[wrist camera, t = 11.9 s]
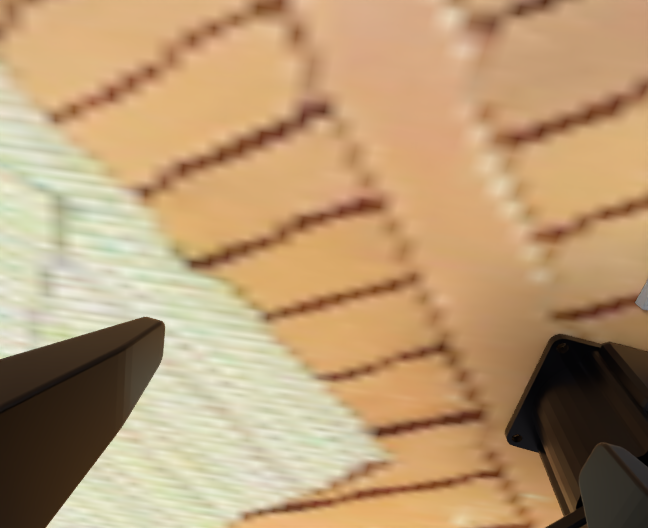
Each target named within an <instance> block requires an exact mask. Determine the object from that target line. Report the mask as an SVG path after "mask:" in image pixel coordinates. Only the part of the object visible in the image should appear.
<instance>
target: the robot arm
mask: <svg viewBox="0 0 648 528" xmlns="http://www.w3.org/2000/svg"><path fill="white" fill-rule="evenodd" d="M164 336H165V324H164V323H163V321H160V320H156V319H153V318H149V317H142V318H139V319H135V320H132V321H128V322H125V323H122V324H118V325H115V326H112V327H108V328H105V329H101V330H98V331H95V332H91V333H88V334H84V335H81V336H78V337H74V338H71V339H67V340H64V341H61V342H57V343H54V344H50V345H47V346H44V347H40V348H37V349H33V350H30V351H27V352H23V353H20V354H16V355H13V356H10V357H6V358H3V359H0V528H46V527H47V525H48V524H49V523H50V521H51V520H52V519H53V517H54V516H55V515H56V513H57V512H58V511H59V509H60V508H61V507H62V506H63V504H64V503H65V502H66V500H67V499H68V498H69V496H70V495H71V494H72V492H73V491H74V490H75V488H76V487H77V486H78V484H79V483H80V482H81V481H82V479H83V478H84V477H85V475H86V474H87V473H88V471H89V470H90V469H91V467H92V466H93V465H94V463H95V462H96V461H97V460H98V458H99V457H100V456H101V454H102V453H103V452H104V450H105V449H106V448H107V446H108V445H109V444H110V442H111V441H112V440H113V438H114V437H115V436H116V434H117V433H118V432H119V430H120V429H121V428H122V426H123V425H124V423H125V421H126V420H127V418H128V417H129V415H130V413H131V412H132V410H133V408H134V407H135V405H136V403H137V402H138V400H139V398H140V397H141V395H142V393H143V392H144V390H145V388H146V387H147V385H148V383H149V382H150V380H151V378H152V377H153V375H154V373H155V372H156V370H157V368H158V367H159V365H160V363H161V360H162V357H163V348H164ZM561 343H565V346H564V347H562V348H557V346H558V345H559V344H561ZM516 434H519V436H516V437H513V435H516ZM505 435H506V439H507V442H508V443H509V444H511V445H513V446H516V447H520V448H523V449H527V450H531V451H534V452H538V453H539V454H540V457H541V459H542V462H543V465H544V467H545V470H546V472H547V475H548V477H549V480H550V482H551V485H552V487H553V490H554V493H555V495H556V498H557V500H558V503H559V505H560V508H561V510H562V513H563V515H564V517H563V518H561V519H559V520H558V521H556V522H554V523H553V524H551V525H549V526H547V527H546V528H648V352H646V351H642V350H639V349H635V348H631V347H627V346H623V345H619V344H616V343H612V342H608V343H603V344H598V343H595V342H591V341H587V340H583V339H579V338H575V337H572V336H568V335H564V334H558V335H555V336H553V337H551V339H550V340H549V342H548V344H547V346H546V348H545V350H544V352H543V354H542V356H541V358H540V360H539V362H538V364H537V366H536V368H535V370H534V372H533V374H532V376H531V379H530V381H529V383H528V385H527V387H526V389H525V391H524V393H523V395H522V397H521V399H520V401H519V403H518V405H517V407H516V409H515V411H514V413H513V415H512V417H511V420H510V422H509V424H508V426H507V428H506V430H505Z"/></svg>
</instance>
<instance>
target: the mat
mask: <svg viewBox="0 0 648 528" xmlns="http://www.w3.org/2000/svg"><path fill="white" fill-rule="evenodd" d="M635 303H636V304H637V305H638V306H639V307H640V308H641V309H644V310H648V280H647V282H646V284H645V285H644V287H643V289H642V291H641V293H640V294H639V296H638V298H637V300H636V302H635Z"/></svg>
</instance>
